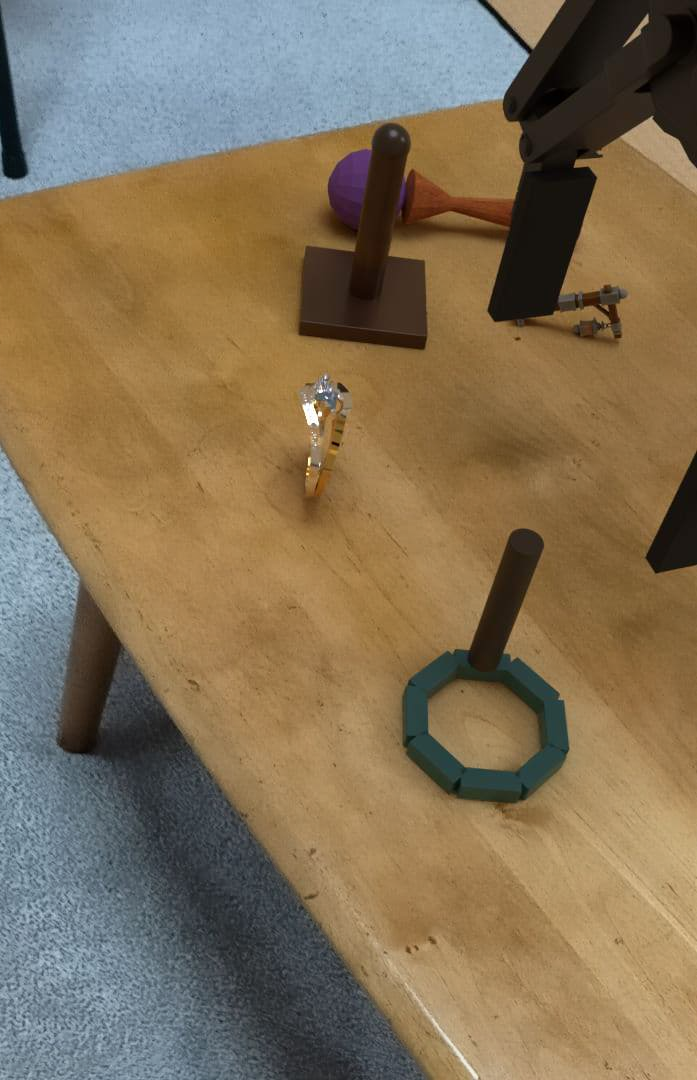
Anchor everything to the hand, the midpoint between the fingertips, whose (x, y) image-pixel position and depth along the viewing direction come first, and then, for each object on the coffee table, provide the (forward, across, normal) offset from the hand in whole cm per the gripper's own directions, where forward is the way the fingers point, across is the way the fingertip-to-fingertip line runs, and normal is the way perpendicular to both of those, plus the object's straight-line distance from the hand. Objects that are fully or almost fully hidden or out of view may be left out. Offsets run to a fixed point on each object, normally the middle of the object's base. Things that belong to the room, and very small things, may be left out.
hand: (594, 426), depth 47 cm
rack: (+25, -38, +8) cm, 46 cm away
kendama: (+25, -45, +18) cm, 55 cm away
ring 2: (+25, -2, +2) cm, 25 cm away
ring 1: (+25, -21, -1) cm, 33 cm away
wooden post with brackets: (+25, -33, +22) cm, 47 cm away
